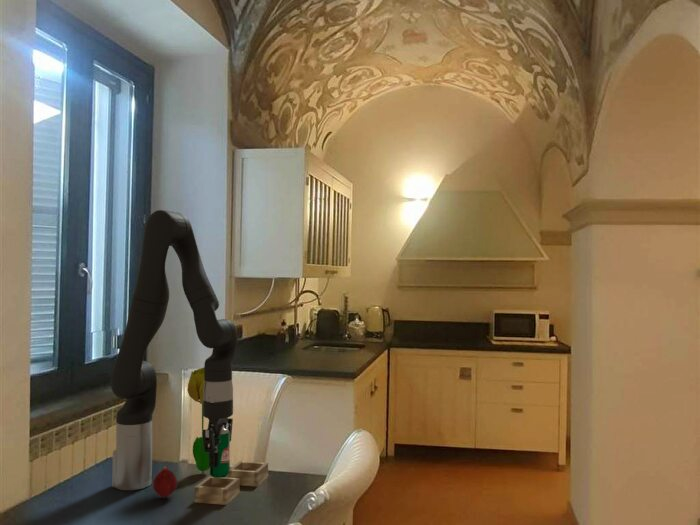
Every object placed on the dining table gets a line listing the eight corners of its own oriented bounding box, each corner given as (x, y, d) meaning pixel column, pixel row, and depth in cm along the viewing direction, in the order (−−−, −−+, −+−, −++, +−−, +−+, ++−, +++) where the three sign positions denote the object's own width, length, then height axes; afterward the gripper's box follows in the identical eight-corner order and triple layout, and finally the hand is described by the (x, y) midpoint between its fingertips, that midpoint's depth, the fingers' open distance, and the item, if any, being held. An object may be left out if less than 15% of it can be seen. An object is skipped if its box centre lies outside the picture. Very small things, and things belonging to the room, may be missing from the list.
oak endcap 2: (228, 484, 167) (228, 470, 167) (239, 474, 175) (239, 461, 175) (257, 486, 165) (257, 472, 165) (268, 476, 173) (268, 462, 173)
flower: (195, 468, 181) (195, 366, 181) (221, 469, 179) (222, 366, 180) (183, 477, 172) (184, 370, 173) (210, 479, 171) (211, 371, 172)
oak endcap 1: (194, 502, 153) (194, 487, 153) (209, 490, 162) (209, 476, 162) (226, 504, 152) (226, 489, 152) (239, 492, 160) (239, 478, 160)
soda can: (224, 479, 154) (224, 431, 154) (206, 477, 155) (206, 430, 155) (232, 472, 159) (232, 426, 159) (214, 471, 160) (214, 425, 160)
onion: (181, 496, 158) (181, 464, 158) (166, 503, 153) (166, 471, 153) (164, 492, 160) (164, 461, 160) (148, 499, 155) (148, 468, 155)
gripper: (216, 391, 165) (216, 455, 165) (192, 402, 151) (191, 472, 151) (242, 392, 164) (242, 456, 163) (220, 403, 149) (220, 473, 149)
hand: (218, 463), depth 157 cm, fingers closed on soda can, 5 cm apart
